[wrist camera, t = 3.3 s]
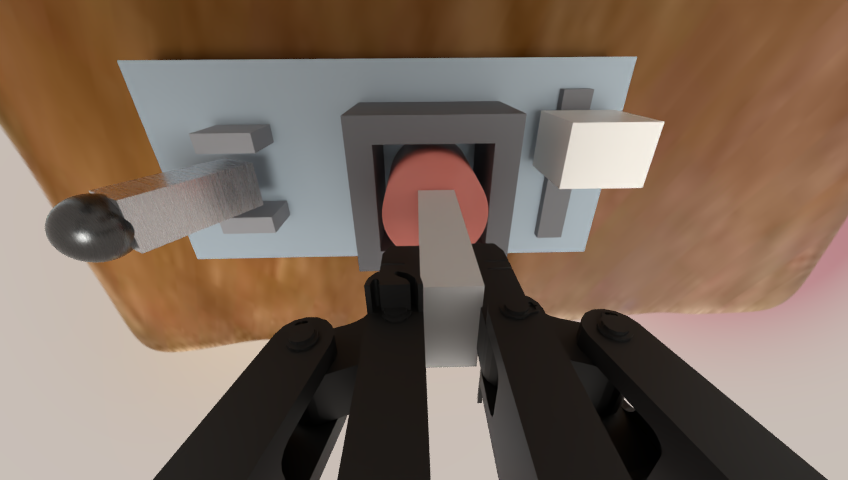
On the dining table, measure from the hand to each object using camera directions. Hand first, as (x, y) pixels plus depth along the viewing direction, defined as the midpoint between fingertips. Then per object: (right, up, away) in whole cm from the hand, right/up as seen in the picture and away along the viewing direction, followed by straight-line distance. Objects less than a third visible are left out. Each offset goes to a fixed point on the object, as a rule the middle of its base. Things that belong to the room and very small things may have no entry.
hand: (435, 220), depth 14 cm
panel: (-3, +5, +8) cm, 10 cm away
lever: (-11, +3, +4) cm, 12 cm away
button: (0, +3, +5) cm, 6 cm away
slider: (+8, +5, +4) cm, 10 cm away
